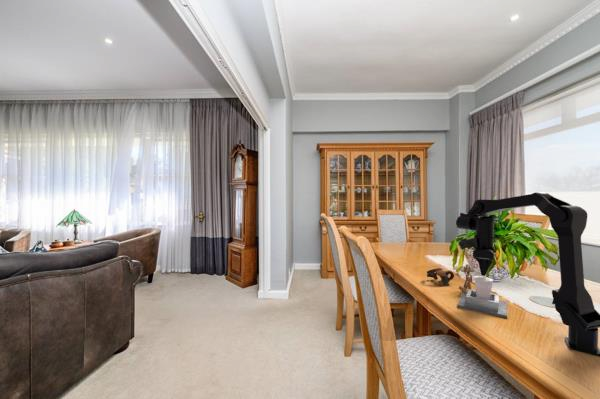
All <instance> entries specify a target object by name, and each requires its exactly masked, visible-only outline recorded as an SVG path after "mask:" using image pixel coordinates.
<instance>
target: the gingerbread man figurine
mask: <svg viewBox="0 0 600 399" xmlns="http://www.w3.org/2000/svg"><path fill="white" fill-rule="evenodd" d="M463 273H464V276H465V281H464V284H463V285H459V286H458V287H459V289H460V290H461V291H462V293H464V294H467V292H468V289H471V290H473V288H472V285H471V283H473V276H472V273H471V265H470V264H468V263H467V264H466V265H465V266H463Z"/></svg>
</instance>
